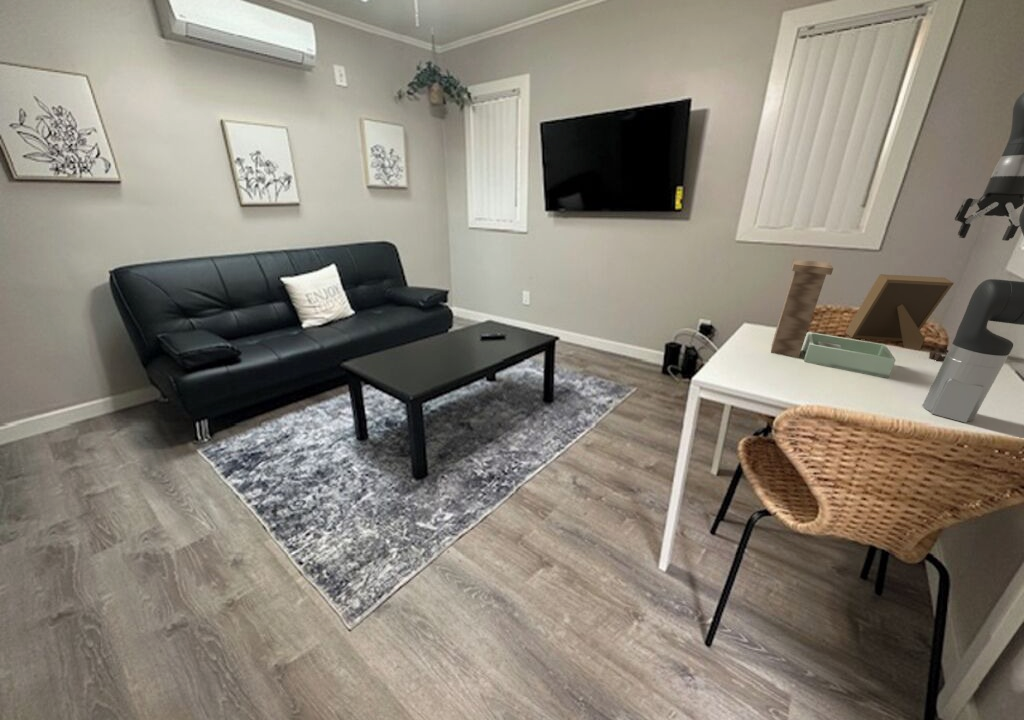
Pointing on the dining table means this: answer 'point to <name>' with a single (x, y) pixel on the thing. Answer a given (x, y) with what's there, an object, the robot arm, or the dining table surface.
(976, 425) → the dining table surface
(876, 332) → the photo frame
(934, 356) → the bear figurine
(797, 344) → the scratching post
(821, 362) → the tray
